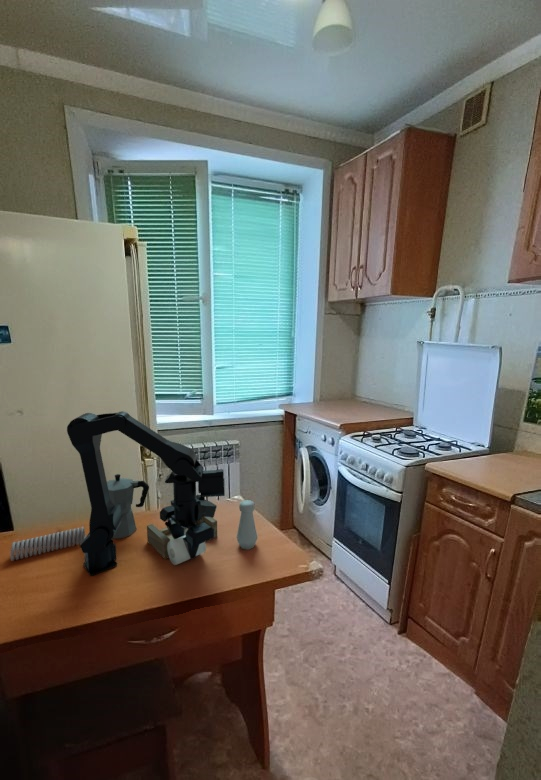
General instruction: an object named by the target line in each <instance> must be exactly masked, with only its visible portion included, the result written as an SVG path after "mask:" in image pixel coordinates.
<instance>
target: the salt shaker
mask: <svg viewBox="0 0 541 780" xmlns="http://www.w3.org/2000/svg"><path fill="white" fill-rule="evenodd" d="M238 507H239V511H240V518H239V523H238V527H237V528H238V529H237V534H236V540H237V543H238V546H240V548H241V549H242V550H251V549H253V548H254V547H255V545H256V543H257V540H258V534H257V528H256V524H255V523H256V522H255V516H254V511H255V507H256V506H255V502H254V501H252V500H250V499H249V500H248V499H246V500H245V499H244V500H242V501H241V502H240V503H239V506H238Z"/></svg>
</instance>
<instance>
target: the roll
mask: <svg viewBox="0 0 541 780" xmlns="http://www.w3.org/2000/svg"><path fill="white" fill-rule="evenodd" d="M185 537H186V535H184V536H182V537H179V538H177V539H174V540H172V541H169V542H168V545H167V551H168V555H169V557H168V559H169V560H170V562H171V564H173V565H174V566H177V565H179V564H181V563H184V562H186V561H189V560H190V559H191V558H190V556H189V553H188V551H187V548H186V546H185V543H184V541H183V538H185ZM206 548H207V546H206V542H203V543H201V544H199V547H198V550H197V553H196V556H195V557H198V556H200V555H202V554H204V553H205V552H206ZM191 560H192V559H191Z"/></svg>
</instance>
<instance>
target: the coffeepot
mask: <svg viewBox="0 0 541 780" xmlns="http://www.w3.org/2000/svg"><path fill="white" fill-rule="evenodd" d="M107 486H108V490H109V495H110V499H111V501H112V503H113V504H114V505H117V504H120V506H121V514H122V515H123V518H122V520H121V524H120V526H119V527H118V529H117V531H116V533H115V535H114V536H113V538H112V540H117V539H124V538H127V537H130V536H131V535H132V534H134V533H135V532H136V530H137V525H136V521H135V517H134V513H133V510H132V509H133V508H132V505H133V501H134V491H135V489H137V488H142V491H141V496H140V498H139V503H138V504H137V503H135V508H143V506H144V505H145V501H146V497H147V496H148V492H149V489H150V486H149V484H148V483H146V481H144V480H133V479H131V478H124V477H121V474H119V473H117V474H114V479H111V480H108V481H107Z"/></svg>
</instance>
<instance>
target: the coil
mask: <svg viewBox="0 0 541 780" xmlns="http://www.w3.org/2000/svg"><path fill="white" fill-rule="evenodd" d="M85 532H86V531H85V527H84V526H81V527H77V528H72V529H71V528H70V529H66V530H61V531H60V532H59V531H57V532H56V533H55V532H53V533H52V534H51V533H48V535H47V534H45V535H40V536H35V537H30V538H27V539H22V540H18V541H17V542H16V541H13V542H12V544H11V548H10V561H11V562H14V561H15V560H16V561H18V560H19V559H22V560H23V559H24V558H28V557H33V556H37V554H38V555H41V554H45V553H46V552H47V553H50V552H54V551H55V550H56V551H58V550H59V549H60V550H62V549H63V548H64V549H65V548H67V547H69V548H70V547H73V546H75V545H77V546H79V545H81V544H82V542H83V541H84V539H85V538H86V536H87V535H86V533H85Z"/></svg>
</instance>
